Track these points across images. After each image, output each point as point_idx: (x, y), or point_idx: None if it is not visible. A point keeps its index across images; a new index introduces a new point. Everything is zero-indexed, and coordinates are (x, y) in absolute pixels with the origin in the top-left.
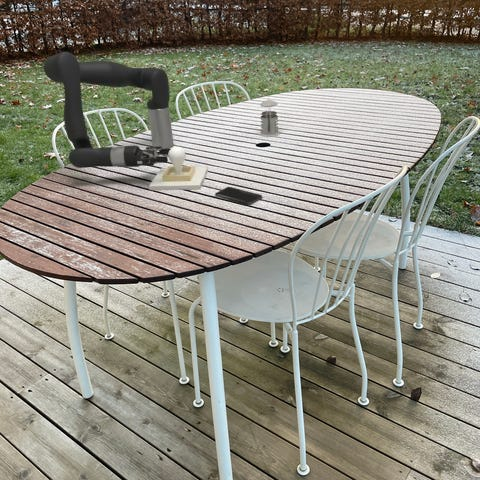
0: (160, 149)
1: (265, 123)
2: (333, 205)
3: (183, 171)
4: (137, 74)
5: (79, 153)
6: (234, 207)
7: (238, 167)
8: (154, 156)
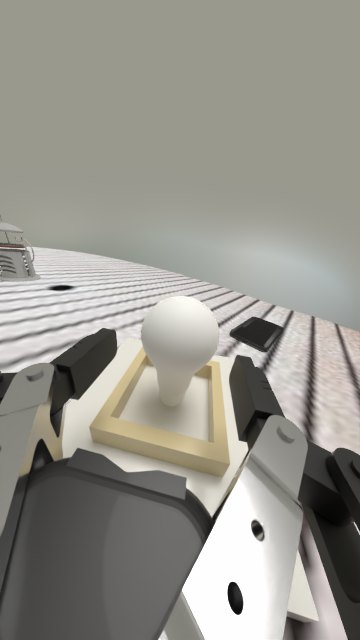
0: (53, 379)
1: (18, 260)
2: (255, 299)
3: (136, 382)
4: None
5: None
6: (296, 340)
7: (137, 314)
8: (292, 428)
